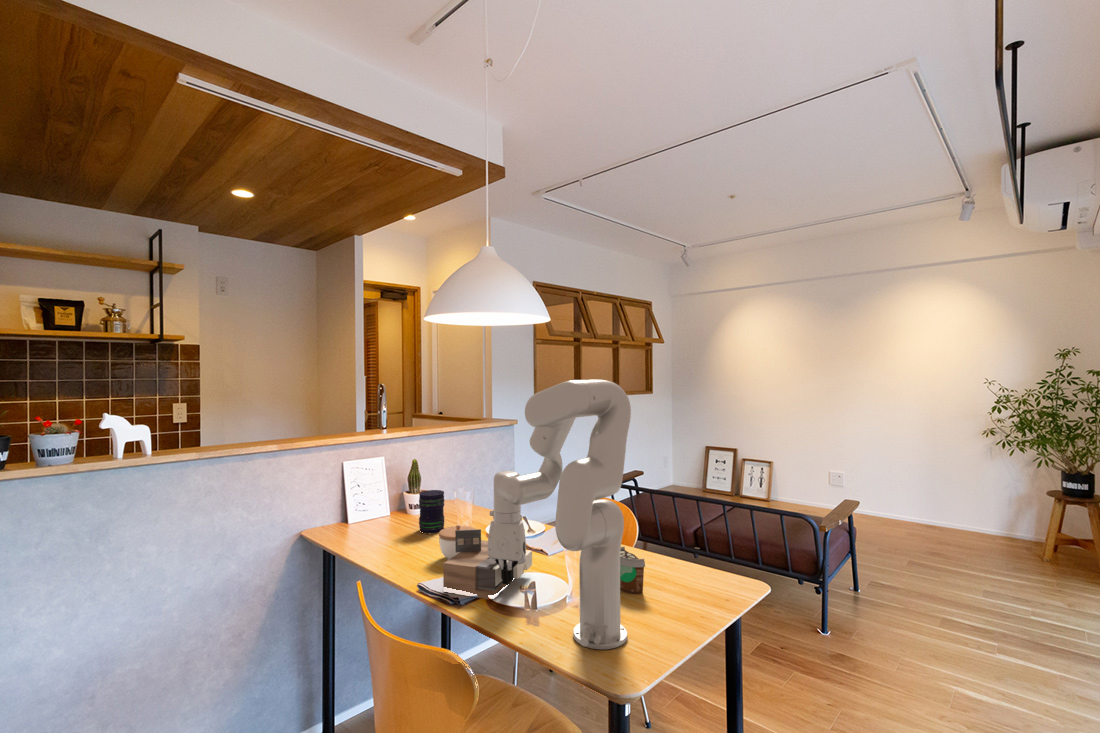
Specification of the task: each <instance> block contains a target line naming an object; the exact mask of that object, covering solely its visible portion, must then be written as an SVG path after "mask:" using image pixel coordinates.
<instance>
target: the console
mask: <svg viewBox="0 0 1100 733" xmlns="http://www.w3.org/2000/svg"><path fill="white" fill-rule="evenodd" d="M475 529H476V530H456V531H455V537H456V552H460V553H458V554H457V555H455V556H454V557H452V558H450V559H449V560H447V559H446V561H445V562H443V564H442V565H443V567H442V568H443V573H442V574H443V580H442V583H443V585H442V586H443V587H447V588H452V589H456V590H462V591H466V592H470V593H473V594H477V595H478V597H477V599H483V600H489V599H488V595H494V594H496V593H498V592H499V591H500V590H501V589H502V588H503V587H505V586H506V584H502V581H501V582H500V583H499V584H498V585H497V586H495V569H491V568H492V567H493V566H495V565H496V564H497V562H496V561H493V560H490V559H489V556H488V540H483V539H482V529H480V528H479V529H477V528H475ZM524 572H525V570H523V573H524Z"/></svg>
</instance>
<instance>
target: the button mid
mask: <svg viewBox="0 0 1100 733" xmlns="http://www.w3.org/2000/svg"><path fill="white" fill-rule="evenodd" d="M507 565H508V560H507ZM523 574H524V572H523V564H517V565H516V566H515V567H514V568H513V578H515V580H517V579H519V578H520V577H522V575H523Z"/></svg>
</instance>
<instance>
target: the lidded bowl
mask: <svg viewBox="0 0 1100 733" xmlns="http://www.w3.org/2000/svg"><path fill="white" fill-rule="evenodd" d="M476 529H477V528H476V527H472V526H467V525H460V524H456V525H455V526H448V527H446V528H445V527H444V529H442V530H441V531H440V532H439V533H438V536H439V547H440V548H439V549H440V551H441V554H442V555H443V556H444V557H445V558H446V561H447V560H449V559H450V558H452V557H454V556H455V555H457V554H458V553H460V552H456V537H455V531H456V530H476Z"/></svg>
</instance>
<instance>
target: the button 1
mask: <svg viewBox="0 0 1100 733" xmlns="http://www.w3.org/2000/svg"><path fill="white" fill-rule="evenodd" d="M491 569H495V586H497V585H498V584H499V583H500V582H501V581H502V579H501V569H500V567H499V565H498V564H496V565H495V566H493V567H492V568H491Z"/></svg>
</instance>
